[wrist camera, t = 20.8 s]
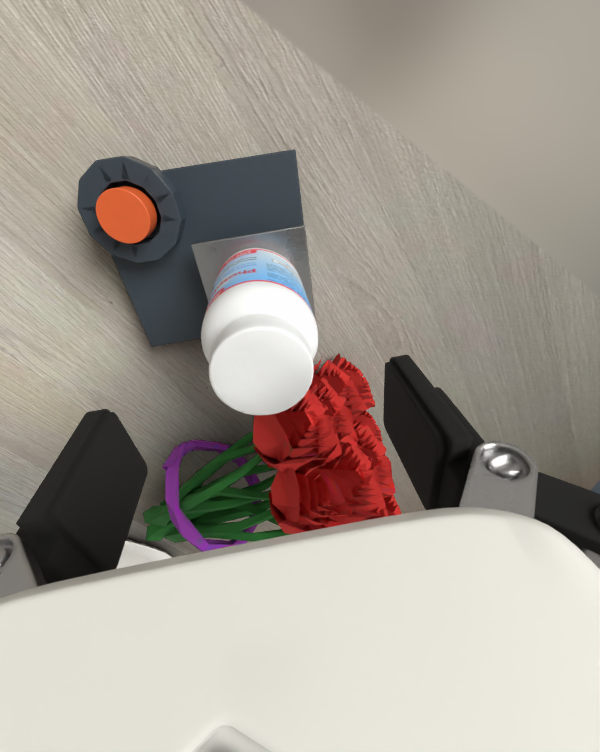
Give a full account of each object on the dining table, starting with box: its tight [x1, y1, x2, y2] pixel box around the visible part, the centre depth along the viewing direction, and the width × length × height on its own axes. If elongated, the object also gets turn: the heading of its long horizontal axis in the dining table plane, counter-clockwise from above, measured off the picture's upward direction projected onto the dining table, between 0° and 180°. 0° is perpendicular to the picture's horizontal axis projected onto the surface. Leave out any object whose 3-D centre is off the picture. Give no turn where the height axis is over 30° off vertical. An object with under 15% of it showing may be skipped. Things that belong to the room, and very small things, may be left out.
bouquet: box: [143, 354, 401, 552], centre depth 32 cm, size 20×16×30 cm
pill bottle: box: [201, 248, 318, 415], centre depth 19 cm, size 6×6×11 cm
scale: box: [78, 150, 304, 347], centre depth 24 cm, size 13×14×4 cm
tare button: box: [96, 186, 157, 244], centre depth 20 cm, size 3×3×2 cm
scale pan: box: [191, 225, 316, 321], centre depth 24 cm, size 8×8×1 cm
